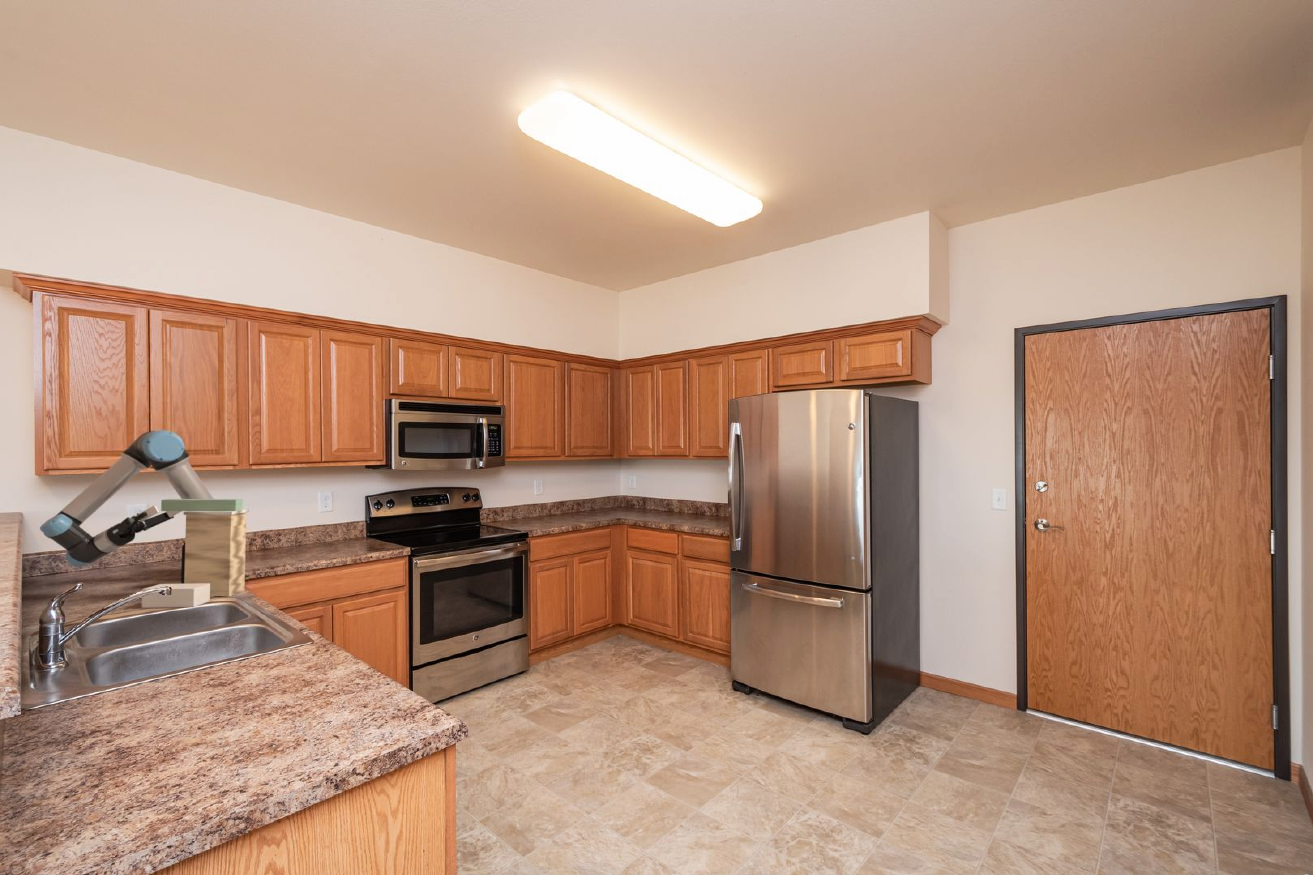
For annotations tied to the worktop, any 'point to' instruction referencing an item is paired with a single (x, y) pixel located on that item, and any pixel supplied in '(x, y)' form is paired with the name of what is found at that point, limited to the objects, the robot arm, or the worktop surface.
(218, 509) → the pale green rectangular block
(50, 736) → the worktop surface
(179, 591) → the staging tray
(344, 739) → the worktop surface
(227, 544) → the tall wooden pillar block
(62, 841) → the worktop surface
